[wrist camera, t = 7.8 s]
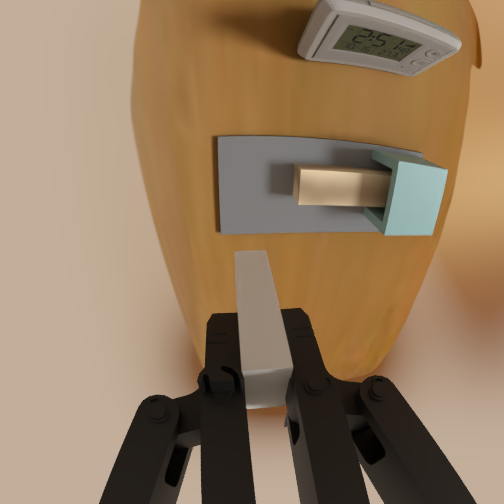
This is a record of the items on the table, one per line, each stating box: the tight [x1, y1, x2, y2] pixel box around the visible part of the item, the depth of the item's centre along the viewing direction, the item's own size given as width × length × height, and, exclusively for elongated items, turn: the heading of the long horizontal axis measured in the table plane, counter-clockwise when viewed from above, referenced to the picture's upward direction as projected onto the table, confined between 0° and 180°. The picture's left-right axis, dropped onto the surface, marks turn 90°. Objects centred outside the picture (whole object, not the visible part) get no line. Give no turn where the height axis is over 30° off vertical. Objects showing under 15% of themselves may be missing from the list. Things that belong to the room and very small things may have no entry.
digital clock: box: [297, 0, 462, 76], centre depth 18 cm, size 16×9×11 cm, turn 82°
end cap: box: [363, 150, 448, 235], centre depth 29 cm, size 9×8×6 cm
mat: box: [218, 136, 423, 235], centre depth 32 cm, size 12×27×1 cm, turn 89°
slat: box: [292, 163, 392, 207], centre depth 30 cm, size 4×14×3 cm, turn 89°
